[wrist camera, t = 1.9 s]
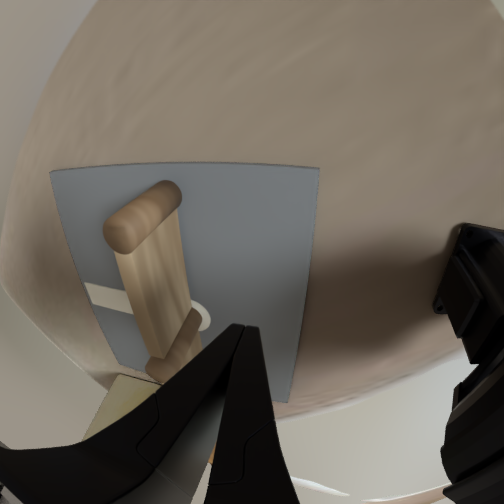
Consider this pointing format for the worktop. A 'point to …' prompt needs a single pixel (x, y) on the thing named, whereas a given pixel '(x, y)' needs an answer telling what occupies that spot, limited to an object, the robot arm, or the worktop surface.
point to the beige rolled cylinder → (152, 263)
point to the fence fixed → (178, 350)
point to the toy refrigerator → (120, 401)
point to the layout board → (204, 249)
